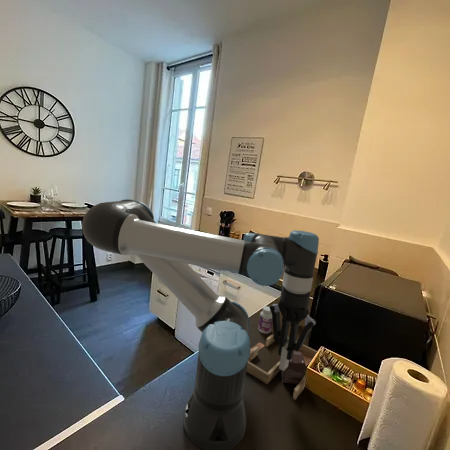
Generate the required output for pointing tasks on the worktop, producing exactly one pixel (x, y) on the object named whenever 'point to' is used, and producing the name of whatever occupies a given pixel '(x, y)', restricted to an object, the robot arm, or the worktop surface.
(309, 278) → the robot arm
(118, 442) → the worktop surface
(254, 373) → the tray
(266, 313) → the pill bottle
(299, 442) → the worktop surface
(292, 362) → the box
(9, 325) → the worktop surface
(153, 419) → the worktop surface
